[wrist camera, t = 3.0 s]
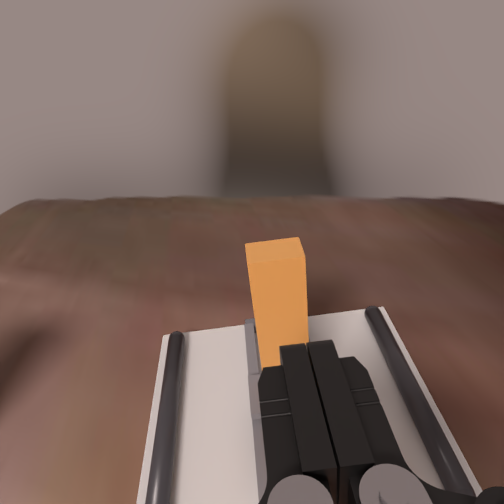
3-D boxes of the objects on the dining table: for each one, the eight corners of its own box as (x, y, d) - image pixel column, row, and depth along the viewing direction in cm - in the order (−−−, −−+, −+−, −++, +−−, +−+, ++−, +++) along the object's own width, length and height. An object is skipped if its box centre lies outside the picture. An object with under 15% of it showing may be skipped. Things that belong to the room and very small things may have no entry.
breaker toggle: (319, 371, 29) (315, 229, 23) (329, 409, 27) (329, 260, 20) (248, 381, 29) (225, 240, 23) (251, 419, 27) (226, 273, 20)
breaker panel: (382, 316, 37) (384, 294, 36) (497, 538, 22) (508, 515, 20) (166, 344, 37) (159, 323, 36) (130, 587, 22) (116, 567, 20)
